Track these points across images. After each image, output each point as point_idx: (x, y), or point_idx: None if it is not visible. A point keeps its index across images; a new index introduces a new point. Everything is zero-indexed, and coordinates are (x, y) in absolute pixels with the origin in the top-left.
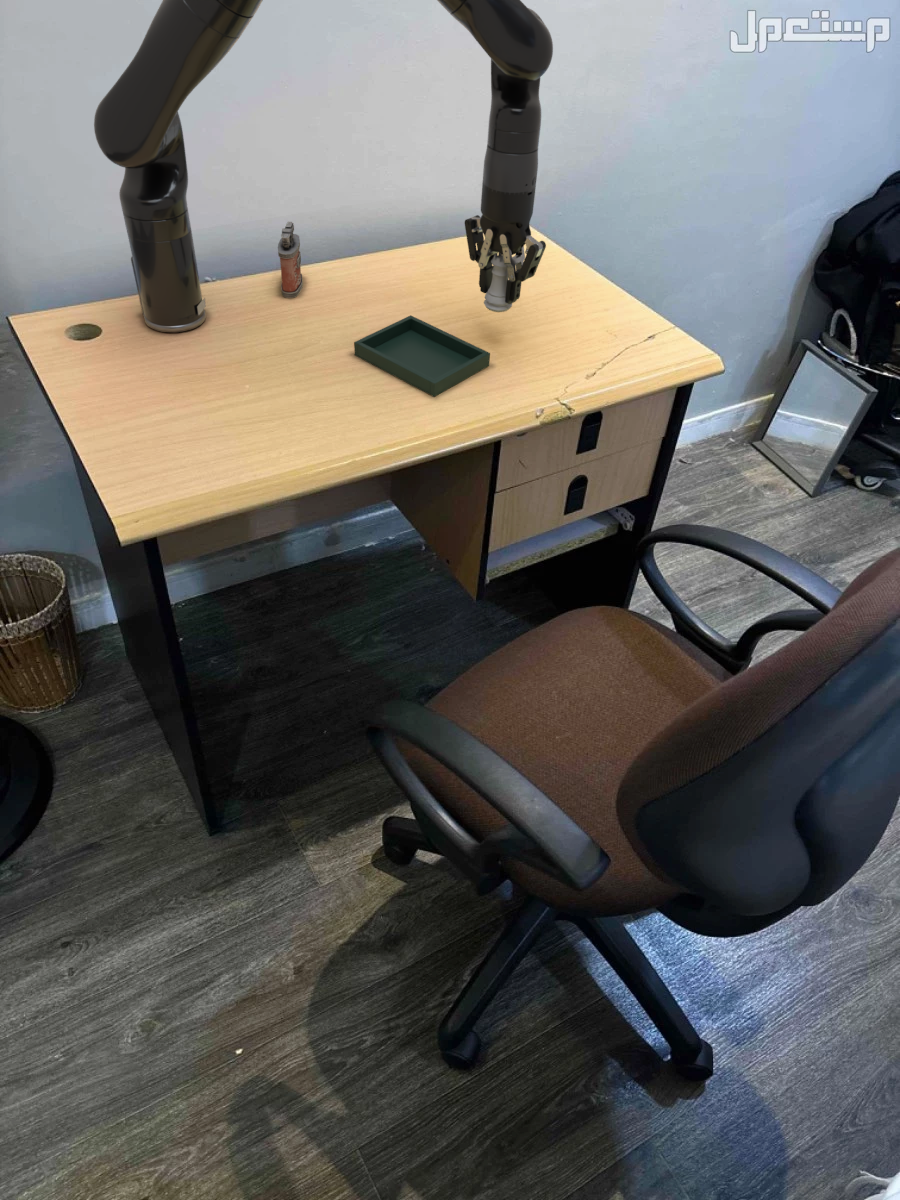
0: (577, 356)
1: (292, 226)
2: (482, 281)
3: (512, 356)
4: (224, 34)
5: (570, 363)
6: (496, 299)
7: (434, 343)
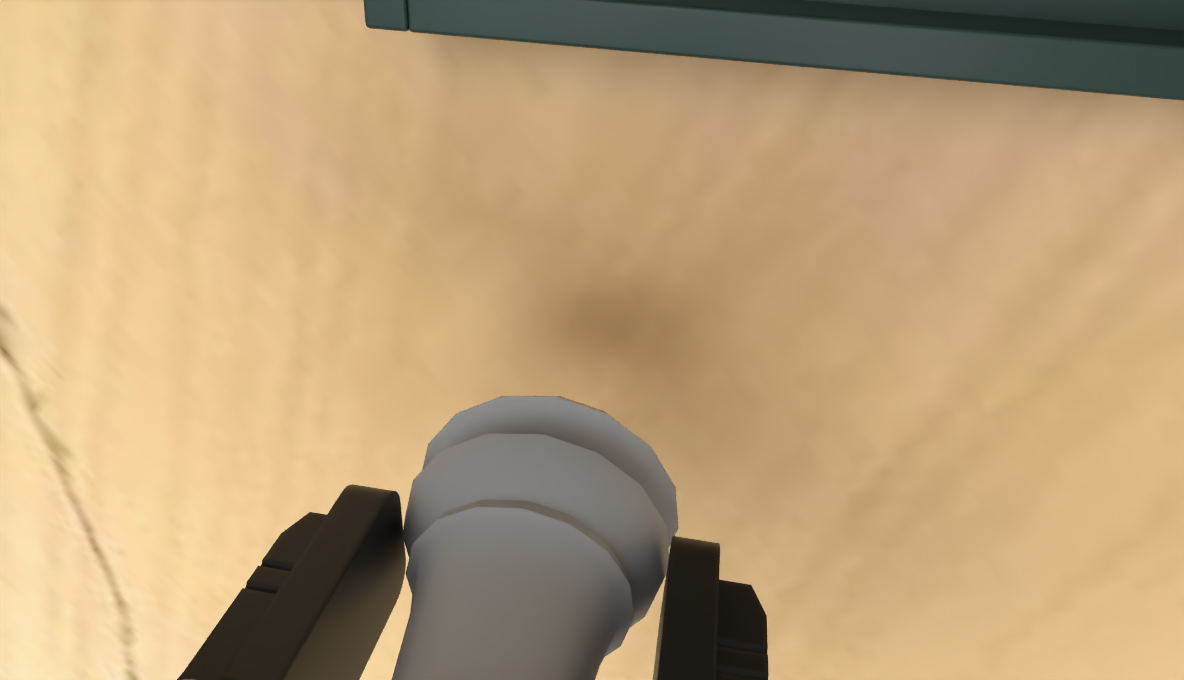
0: (181, 442)
1: None
2: (696, 631)
3: (396, 234)
4: None
5: (145, 366)
6: (467, 479)
7: None
